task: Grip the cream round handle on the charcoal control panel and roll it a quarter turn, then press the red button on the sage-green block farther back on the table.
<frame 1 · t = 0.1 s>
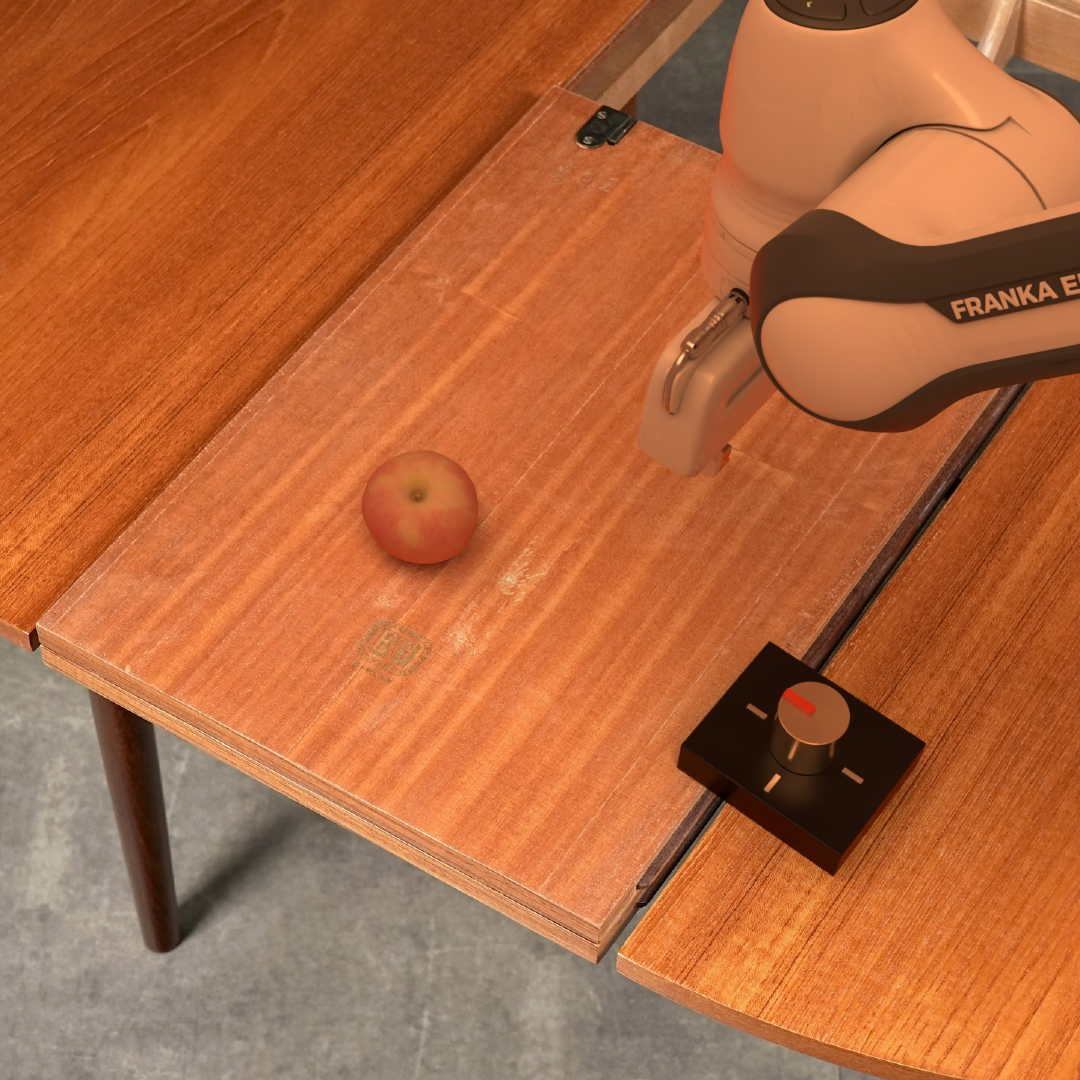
hand: (755, 414, 97), 22 cm above the table, tool pointing down, fingers open, 8 cm apart
button block: (863, 327, 131), on the table
button: (874, 286, 128), point 4 cm above the table, slide at 0.1 cm
panel: (797, 766, 109), on the table
apple: (423, 544, 119), on the table
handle: (809, 727, 105), point 5 cm above the table, hinge at 0.0°
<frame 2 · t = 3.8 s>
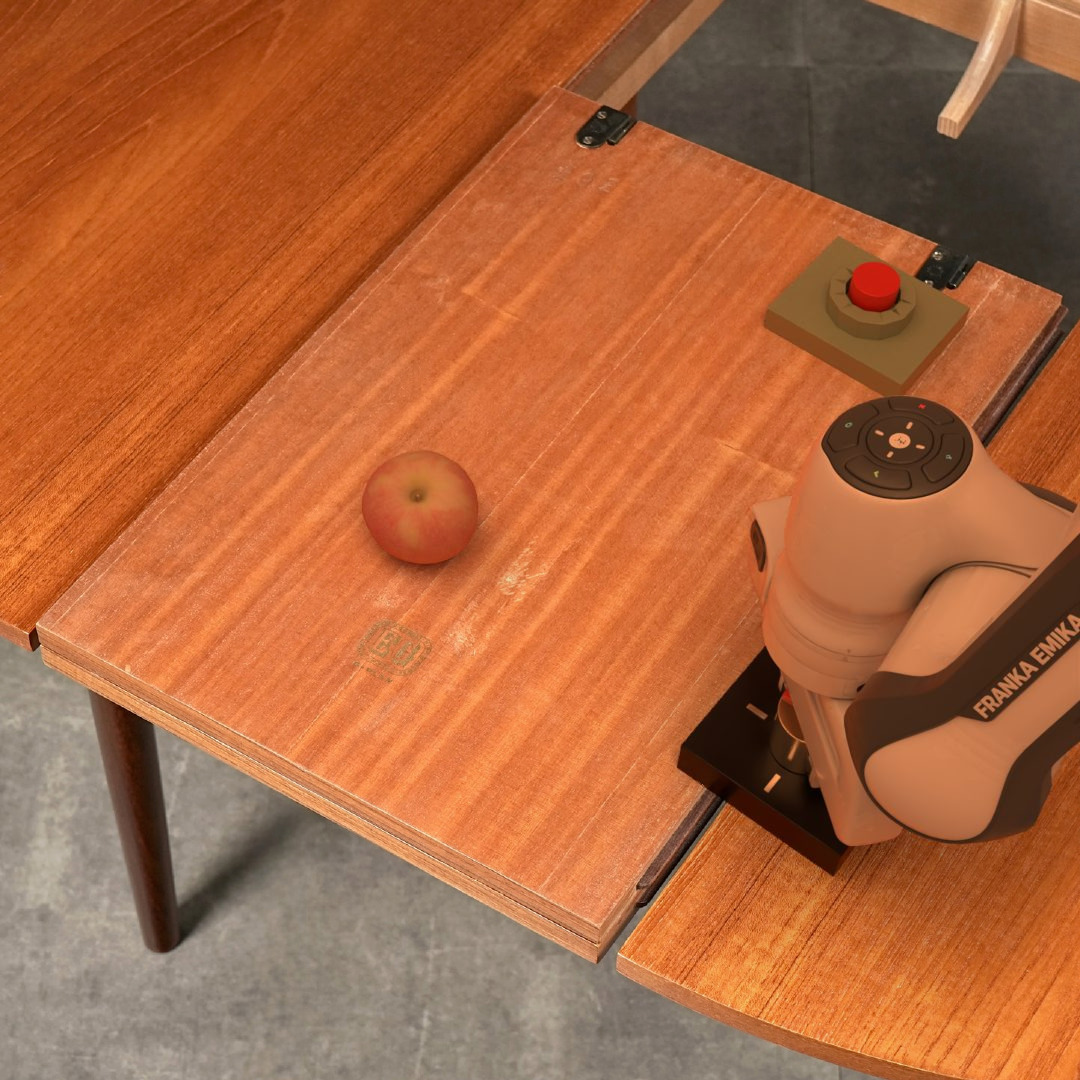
hand: (806, 735, 106), 4 cm above the table, tool pointing down, fingers closed on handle, 4 cm apart
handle: (809, 727, 105), point 5 cm above the table, hinge at 0.1°, touching gripper
everything else where it was.
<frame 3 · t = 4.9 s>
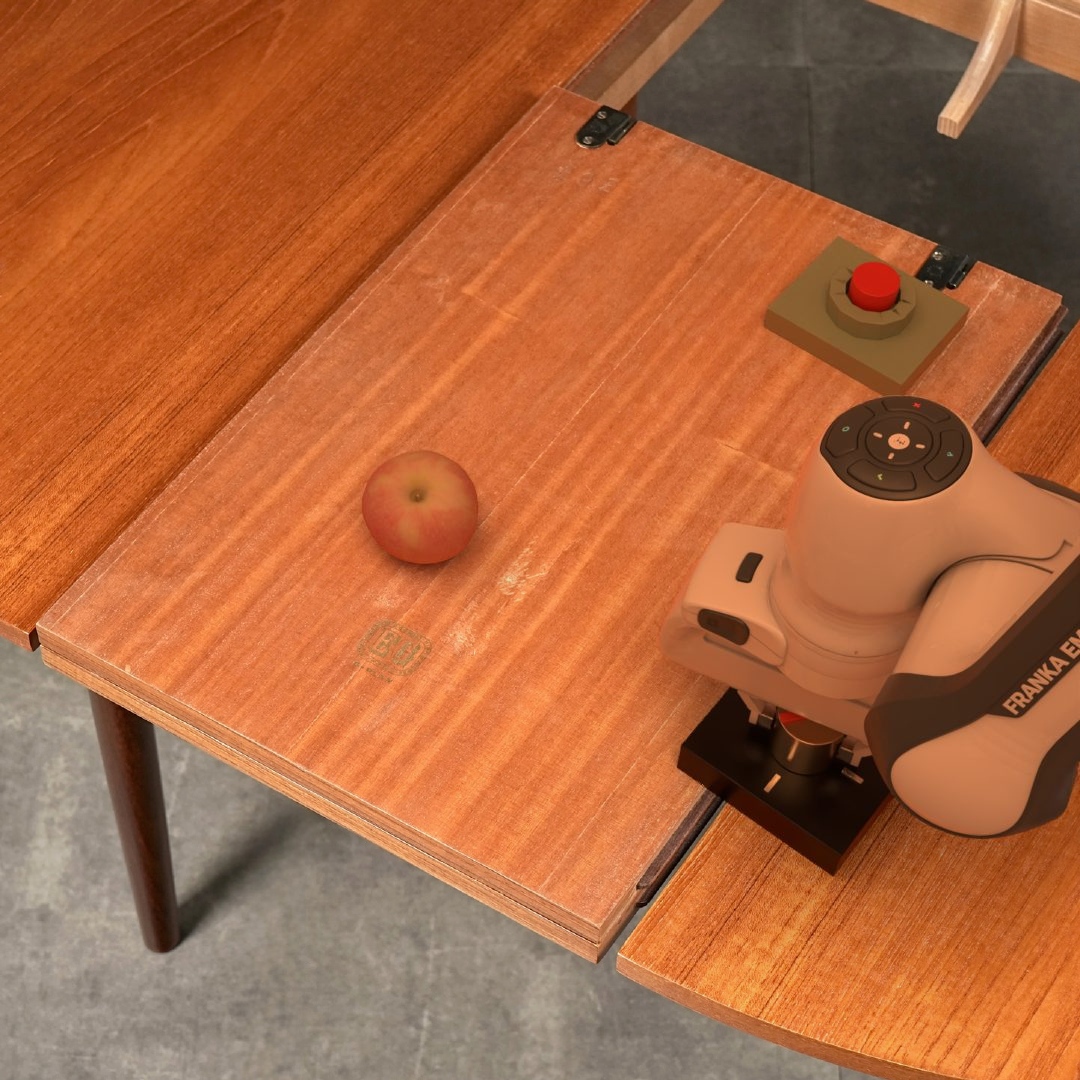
hand: (806, 735, 106), 4 cm above the table, tool pointing down, fingers closed on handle, 4 cm apart
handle: (809, 727, 105), point 5 cm above the table, hinge at 52.8°, touching gripper
everything else where it was.
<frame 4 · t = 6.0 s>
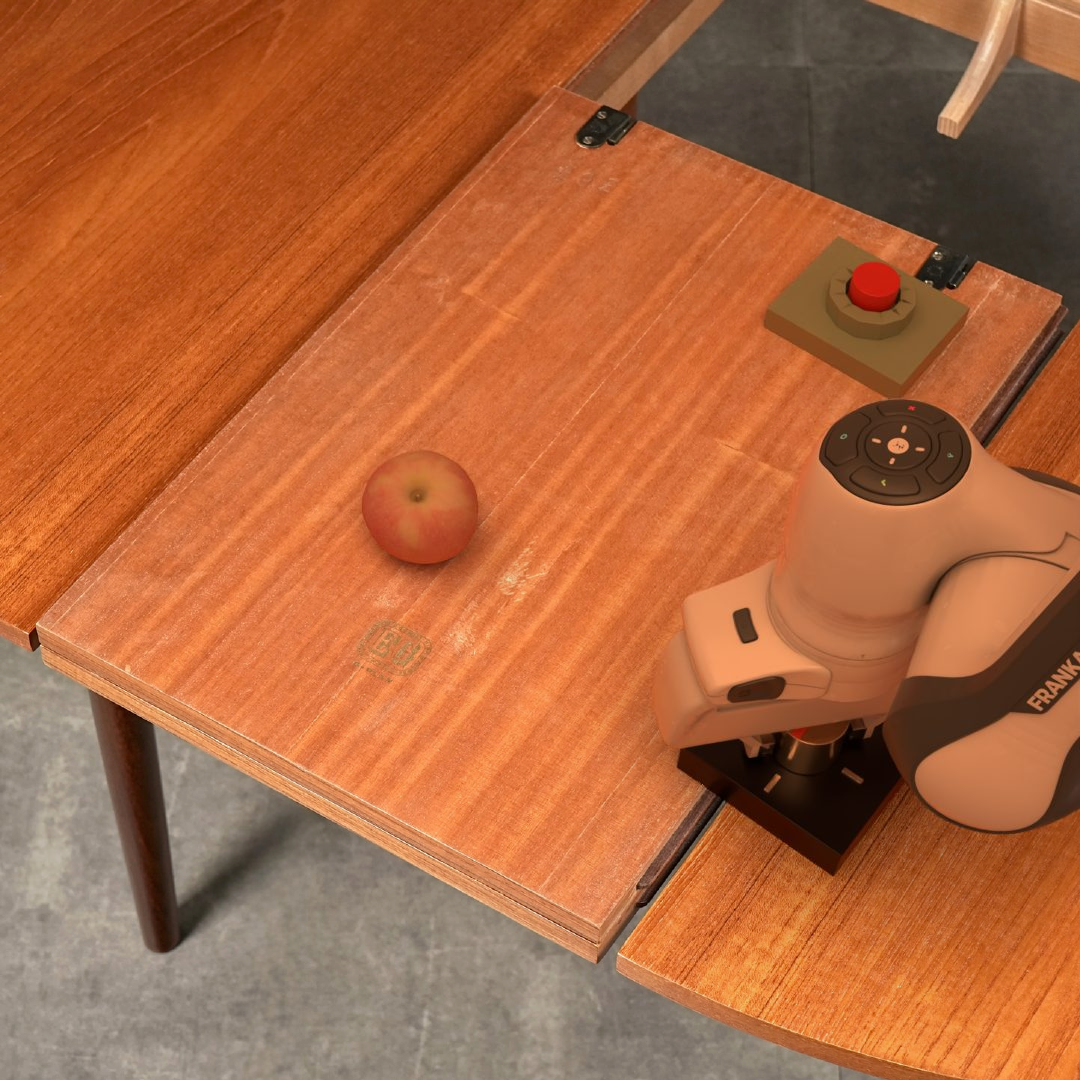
hand: (805, 737, 106), 4 cm above the table, tool pointing down, fingers open, 5 cm apart
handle: (809, 727, 105), point 5 cm above the table, hinge at 90.8°
everything else where it was.
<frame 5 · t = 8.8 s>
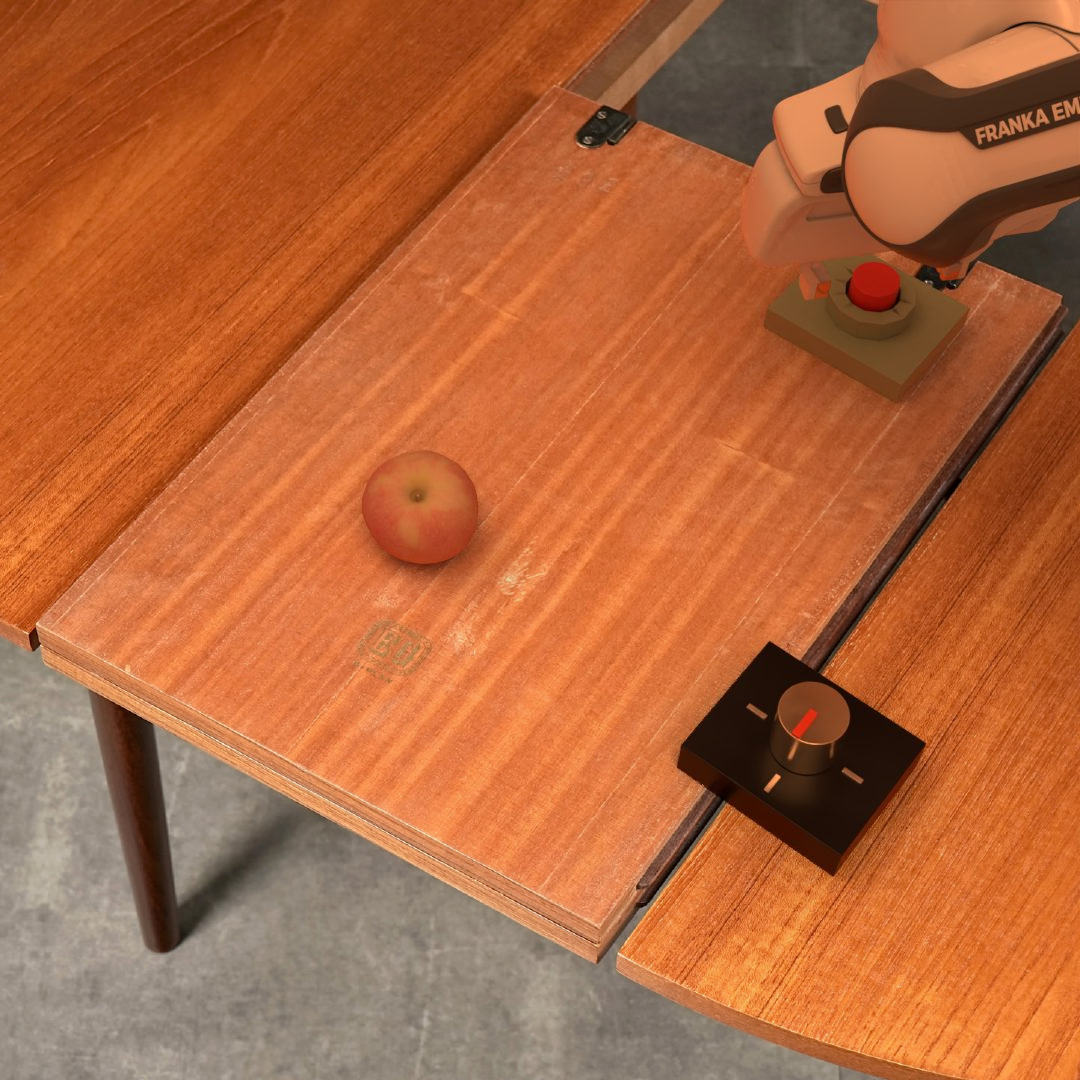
hand: (880, 282, 112), 16 cm above the table, tool pointing down, fingers open, 8 cm apart
nothing on the table moved.
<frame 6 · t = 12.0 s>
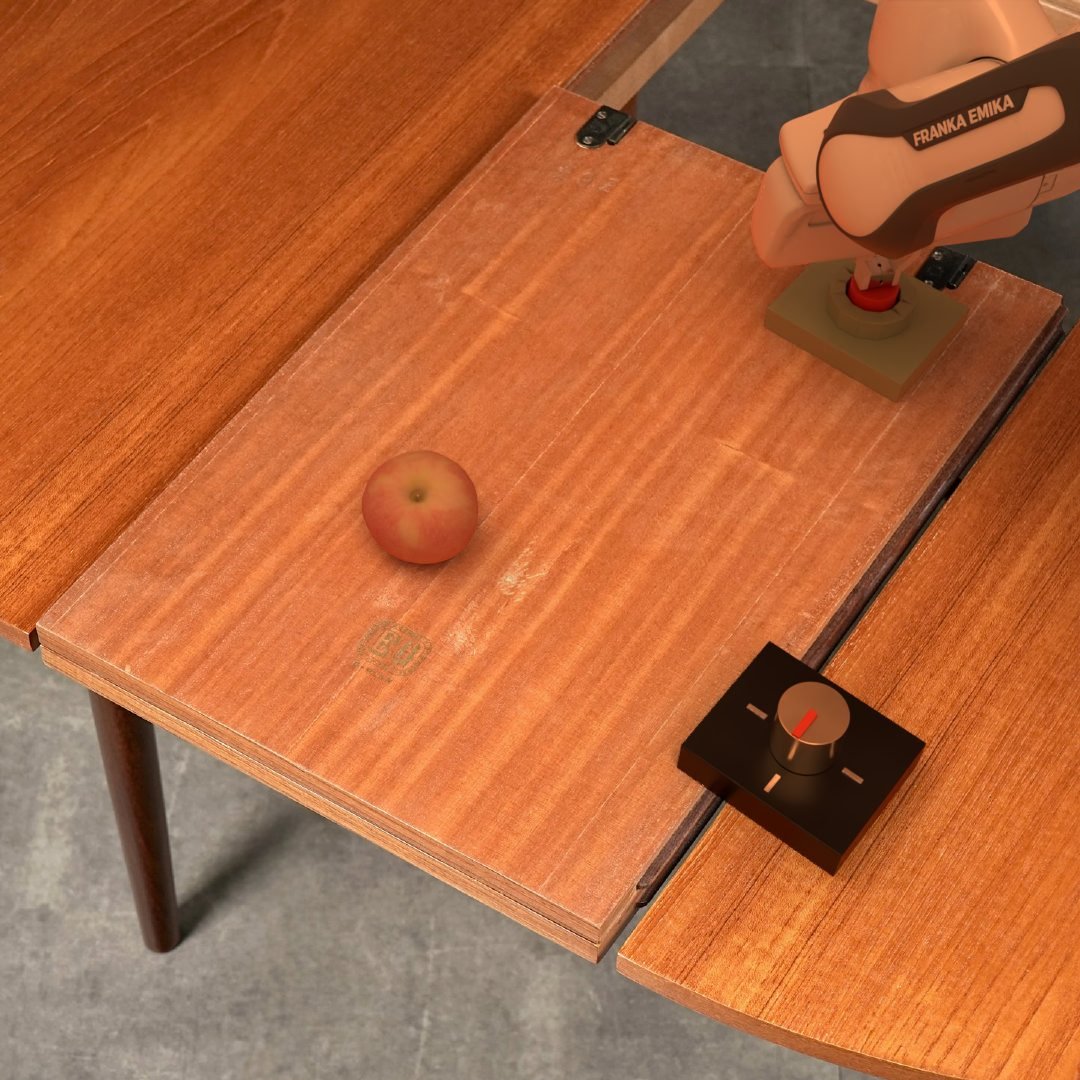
hand: (875, 281, 127), 5 cm above the table, tool pointing down, fingers closed, pressing on button
button: (873, 291, 128), point 4 cm above the table, slide at -0.4 cm, touching gripper
everything else where it was.
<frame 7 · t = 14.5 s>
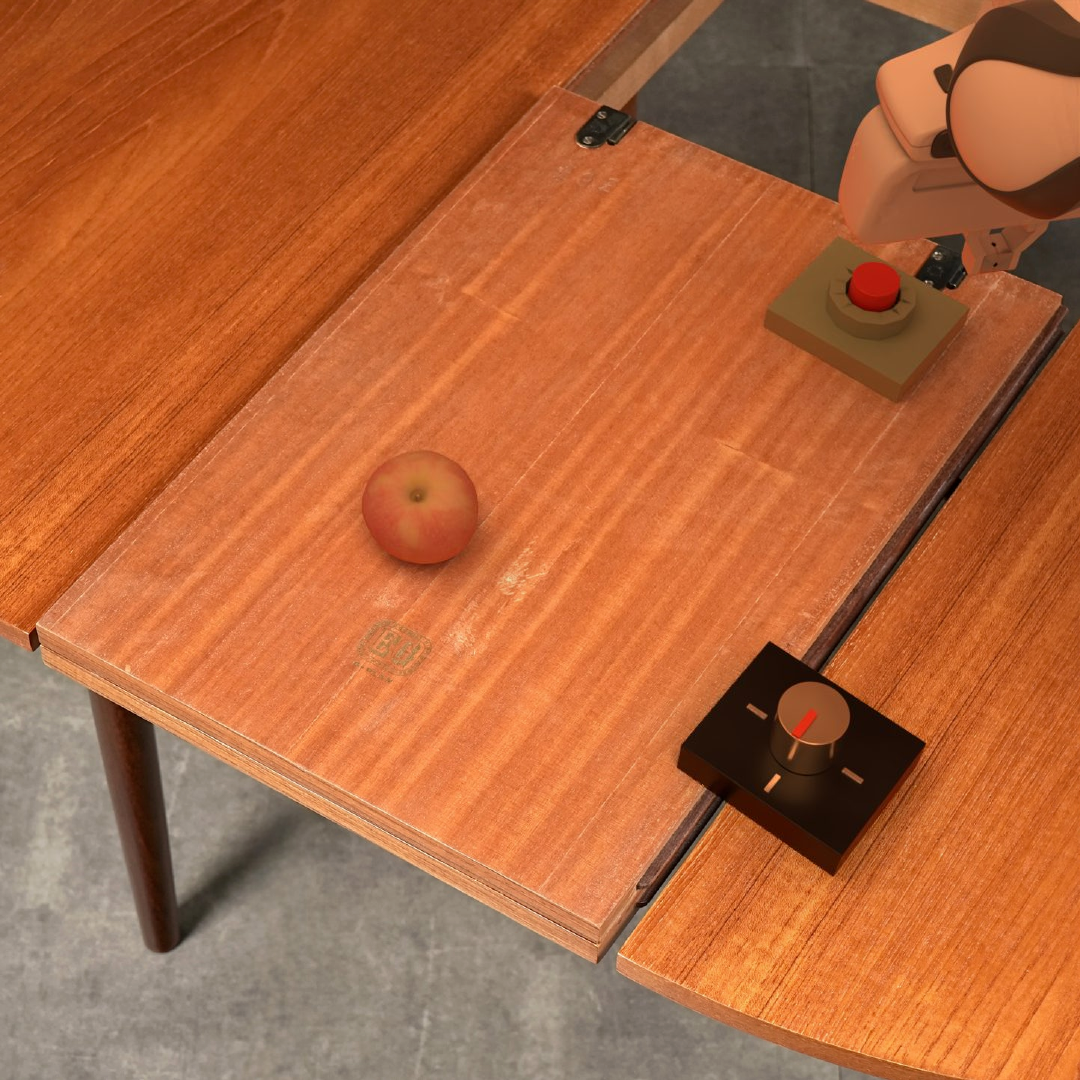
hand: (987, 265, 104), 22 cm above the table, tool pointing down, fingers closed
button: (874, 286, 128), point 4 cm above the table, slide at 0.1 cm
everything else where it was.
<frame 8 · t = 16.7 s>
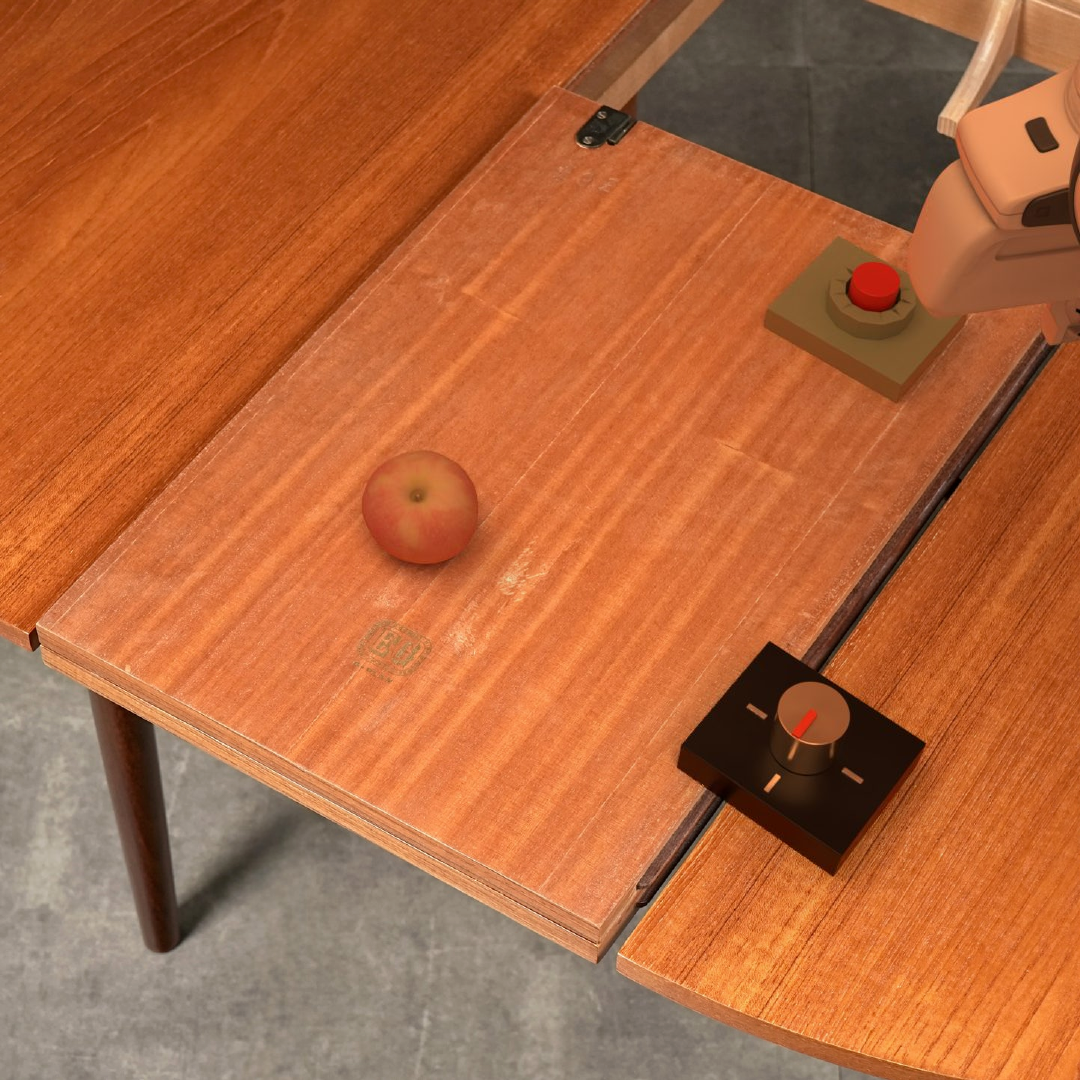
hand: (1069, 333, 92), 29 cm above the table, tool pointing down, fingers closed
nothing on the table moved.
at the end: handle at +91° (first picture: +0°); button pushed in 1.0 cm at the most during the clip, back to where it started at the end; button slide at 0.1 cm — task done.
